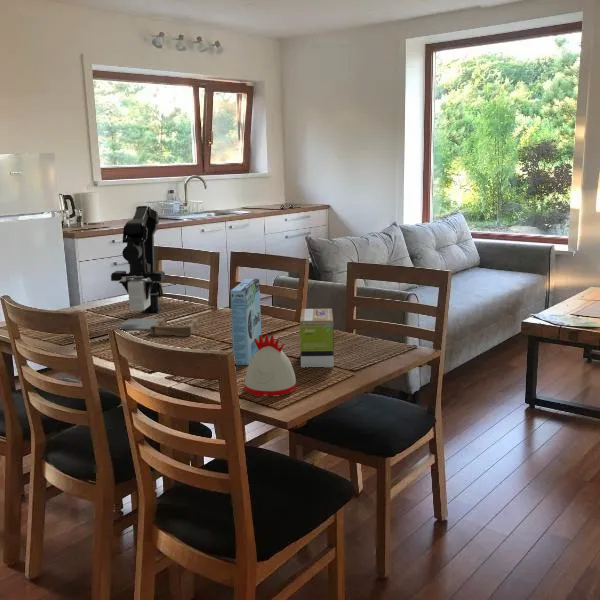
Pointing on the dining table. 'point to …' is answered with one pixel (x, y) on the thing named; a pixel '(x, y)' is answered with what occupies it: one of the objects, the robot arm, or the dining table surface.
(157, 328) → the walnut bay
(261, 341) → the kitchen timer
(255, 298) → the blue thin cardboard box
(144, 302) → the small box
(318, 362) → the tea box
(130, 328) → the slate mat
